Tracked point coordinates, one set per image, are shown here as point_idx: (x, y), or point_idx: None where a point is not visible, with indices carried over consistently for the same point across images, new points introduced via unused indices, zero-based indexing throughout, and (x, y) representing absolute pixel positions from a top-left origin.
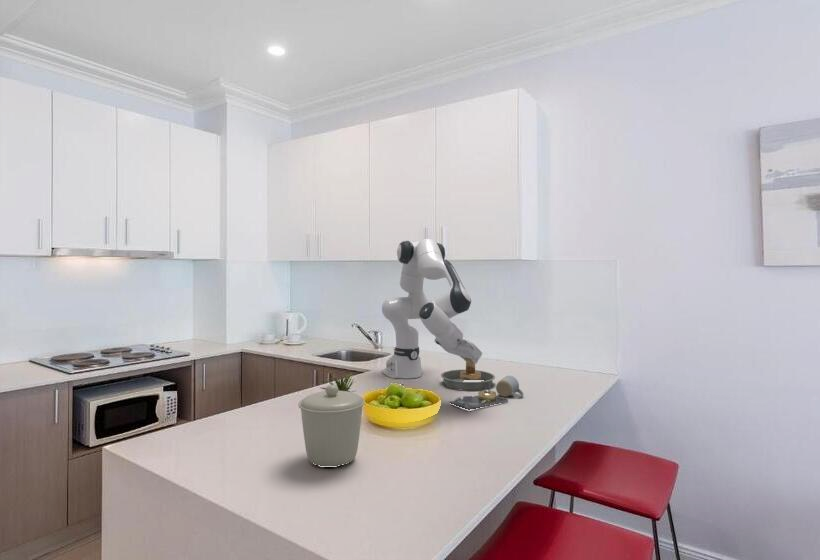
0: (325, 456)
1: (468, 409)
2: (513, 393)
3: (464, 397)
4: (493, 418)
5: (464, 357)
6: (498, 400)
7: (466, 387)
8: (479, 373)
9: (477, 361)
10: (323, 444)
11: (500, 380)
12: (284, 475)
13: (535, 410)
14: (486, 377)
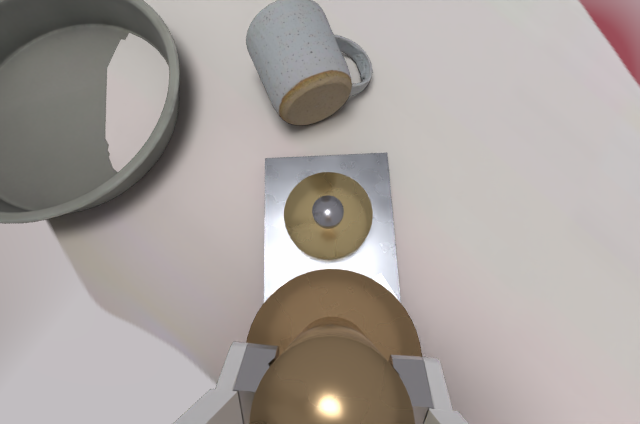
0: None
1: None
2: (354, 88)
3: None
4: (540, 375)
5: (238, 421)
6: (378, 197)
7: (134, 177)
8: (401, 317)
9: (436, 364)
10: None
11: (288, 78)
12: None
13: (526, 144)
14: (86, 7)
